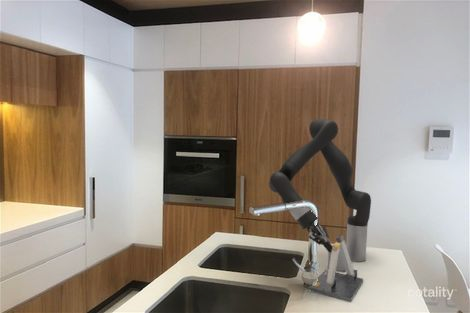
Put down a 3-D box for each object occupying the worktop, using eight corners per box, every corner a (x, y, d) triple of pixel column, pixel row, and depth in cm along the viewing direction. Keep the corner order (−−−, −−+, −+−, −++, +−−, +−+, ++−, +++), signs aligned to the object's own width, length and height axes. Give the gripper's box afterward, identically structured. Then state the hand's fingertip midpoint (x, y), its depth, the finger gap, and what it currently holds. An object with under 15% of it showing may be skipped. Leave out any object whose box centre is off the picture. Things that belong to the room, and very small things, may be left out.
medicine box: (345, 268, 161) (346, 249, 160) (346, 272, 157) (347, 253, 156) (327, 266, 163) (328, 247, 163) (327, 269, 159) (328, 251, 158)
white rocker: (328, 283, 140) (335, 241, 138) (333, 285, 139) (341, 243, 136) (324, 288, 136) (331, 245, 134) (330, 290, 135) (337, 246, 133)
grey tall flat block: (351, 276, 148) (338, 235, 150) (356, 276, 147) (343, 234, 149) (348, 280, 144) (335, 238, 146) (353, 280, 143) (340, 237, 145)
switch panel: (325, 273, 155) (325, 263, 155) (363, 282, 147) (363, 271, 147) (309, 290, 138) (309, 279, 138) (350, 302, 130) (351, 290, 130)
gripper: (303, 212, 134) (334, 250, 129) (315, 205, 145) (344, 241, 140) (290, 223, 138) (319, 261, 132) (302, 216, 149) (330, 251, 143)
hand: (332, 250), depth 136 cm, fingers closed
